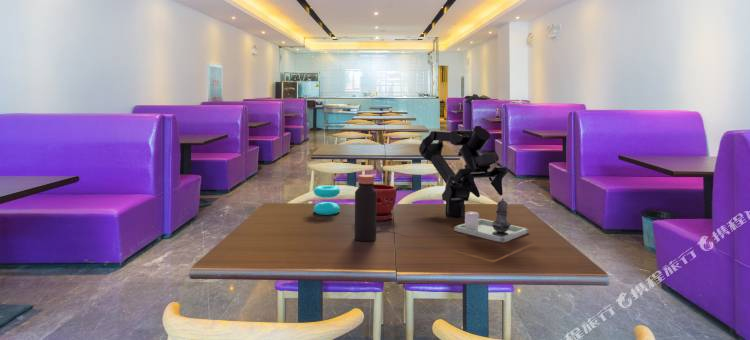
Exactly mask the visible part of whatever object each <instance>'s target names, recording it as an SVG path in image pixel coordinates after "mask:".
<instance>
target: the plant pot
mask: <svg viewBox="0 0 750 340" xmlns="http://www.w3.org/2000/svg"><path fill="white" fill-rule="evenodd" d="M373 188H374V189H375V190H376V191H377V213H376V222H377V221H378V222H379V221H381V222H382V221H387V220H390V219H392V217H393V216H394V213H393V212H392V211H393V210H394V207H395V205H396V199H397V187H395V186H393V185H390V184H379V183H377V184H376V183H374V185H373Z"/></svg>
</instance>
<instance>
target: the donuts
mask: <svg viewBox="0 0 750 340" xmlns="http://www.w3.org/2000/svg"><path fill="white" fill-rule="evenodd" d="M340 191H341V189H340V188H339V187H338V186H335V185H327V184H326V185H319V186H315V187H314V189H313V194H314V195H315V196H316V197H319V198H325V199H326V198H335V197H337V196H338V195H339V194H340V193H341V192H340ZM340 210H341V209H340V205H339V204H337V203H335V202H330V201H324V202H318V203H317V204H315V205H314V207H313V212H314V213H315V214H317V215H323V216H331V215H336V214H338V213H339V212H340Z"/></svg>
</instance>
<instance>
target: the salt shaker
mask: <svg viewBox="0 0 750 340" xmlns="http://www.w3.org/2000/svg"><path fill="white" fill-rule="evenodd" d="M507 209H508V203H507V201H505V199H504V198H503V197H502V198H501V200H499V201H497V208H496V211H495V213H496V219H495V220H494V222H492V224H493V228H494V230H495V232H493V233H492V234H493V235H496V236H501V237H503V236H506V235H508V233H507V232H506V231H508V229H509V227H510V225H512V224H511V223H509V222H508V221H507V219H508V218H507V216H508V215H507V214H508V213H509V212H508V210H507Z"/></svg>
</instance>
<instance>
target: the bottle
mask: <svg viewBox="0 0 750 340" xmlns="http://www.w3.org/2000/svg"><path fill="white" fill-rule="evenodd" d="M357 181H358V188H356V190H355V191H354V239H355V240H356V241H358V242H367V243H368V242H373V241H375V240H377V220H376V213H377V191H376V190H375V189H374V188H373V185H374V184H375V175H373V174H359V175H357Z"/></svg>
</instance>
